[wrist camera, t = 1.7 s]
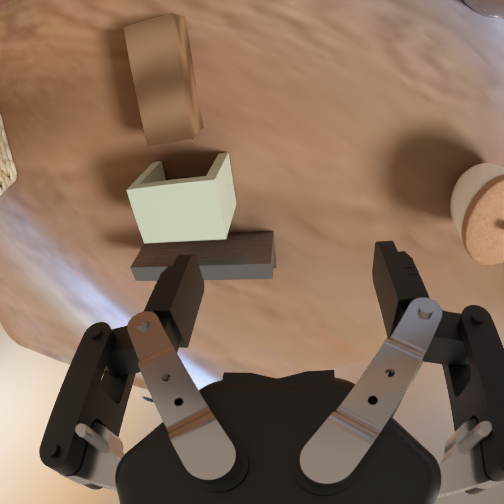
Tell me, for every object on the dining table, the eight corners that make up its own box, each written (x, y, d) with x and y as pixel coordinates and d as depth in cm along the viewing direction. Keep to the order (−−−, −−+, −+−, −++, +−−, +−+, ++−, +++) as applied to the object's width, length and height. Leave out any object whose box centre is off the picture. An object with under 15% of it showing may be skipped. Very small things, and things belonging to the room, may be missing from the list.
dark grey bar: (147, 237, 39) (130, 267, 34) (273, 231, 37) (270, 263, 32) (158, 268, 42) (144, 298, 37) (276, 264, 39) (274, 298, 35)
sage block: (153, 162, 32) (126, 189, 27) (228, 152, 31) (214, 179, 25) (165, 209, 36) (144, 243, 30) (236, 203, 35) (226, 239, 29)
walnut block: (143, 28, 24) (123, 27, 20) (186, 17, 23) (170, 12, 19) (163, 132, 31) (147, 145, 27) (203, 126, 30) (192, 138, 26)
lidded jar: (427, 169, 30) (465, 211, 22) (497, 136, 25) (545, 169, 18) (446, 240, 35) (476, 289, 27) (508, 208, 30) (545, 251, 23)
